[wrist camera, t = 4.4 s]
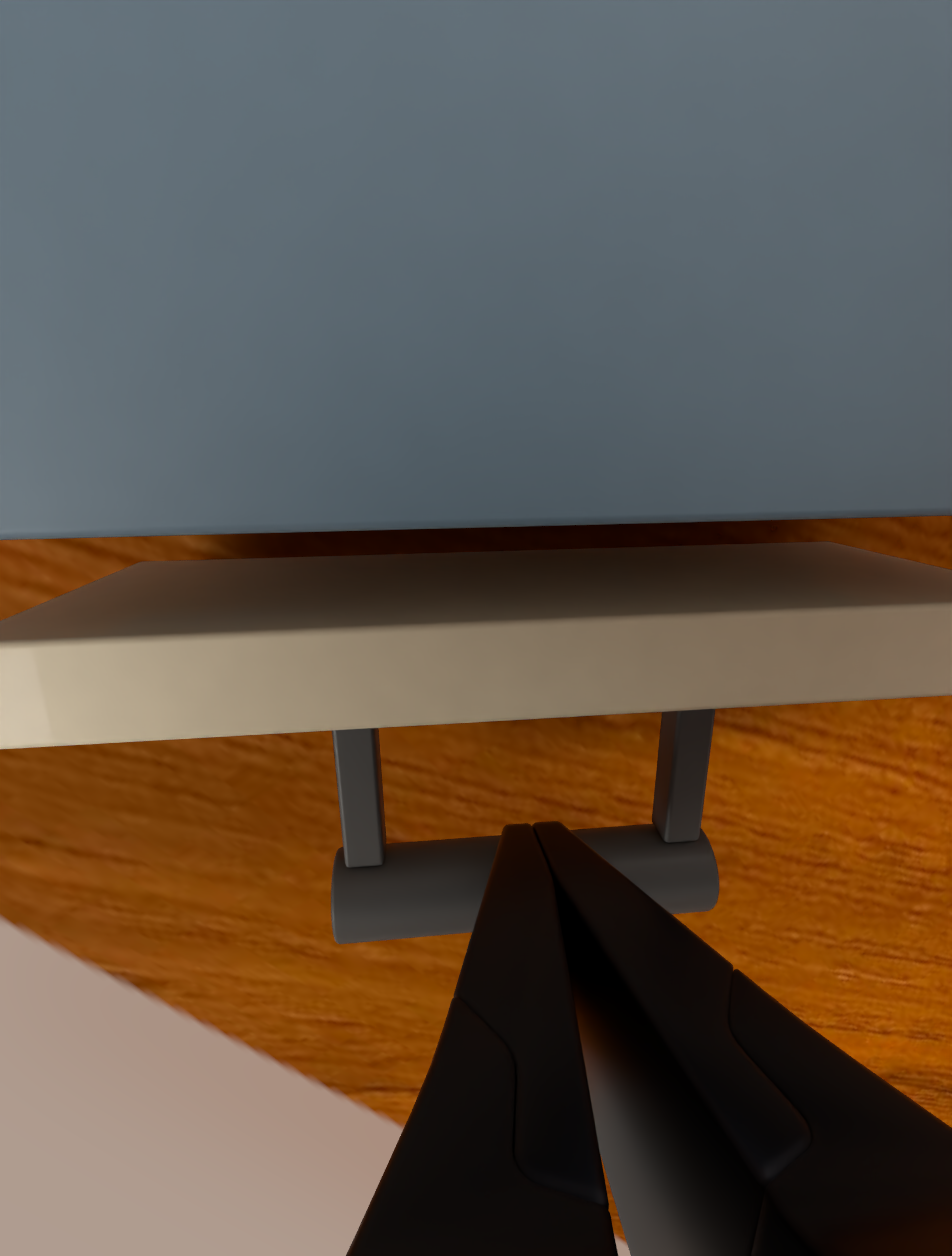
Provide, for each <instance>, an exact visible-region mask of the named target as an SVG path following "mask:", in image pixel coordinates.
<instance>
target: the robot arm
mask: <svg viewBox="0 0 952 1256" xmlns="http://www.w3.org/2000/svg"><path fill="white" fill-rule="evenodd" d="M600 1154H601V1156H600ZM601 1157H602V1160H603V1164H604V1167H605V1170H606V1174H607V1177H608V1180H609V1184H610V1187H611V1190H612V1194H613V1197H614V1200H615V1204H616V1207H617V1210H618V1214H619V1217H620V1220H621V1224H622V1227H623V1230H624V1234H625V1237H626V1240H627V1244H628V1247H629V1250H630V1254H631V1256H952V1128H951V1127H950V1126H948V1125H947V1124H945V1123H944V1122H943V1121H941V1120H940V1119H938V1118H937V1117H935V1116H934V1115H933V1114H931V1113H930V1112H928V1111H927V1110H926V1109H924V1108H923V1107H921V1106H920V1105H918V1104H917V1103H916V1102H914V1101H913V1100H911V1099H910V1098H909V1097H907V1096H906V1095H904V1094H903V1093H901V1092H900V1091H899V1090H897V1089H896V1088H894V1087H893V1086H892V1085H890V1084H889V1083H887V1082H886V1081H884V1080H883V1079H882V1078H880V1077H879V1076H877V1075H876V1074H875V1073H873V1072H872V1071H870V1070H869V1069H867V1068H866V1067H865V1066H863V1065H862V1064H860V1063H859V1062H858V1061H856V1060H855V1059H853V1058H852V1057H851V1056H849V1055H848V1054H847V1053H845V1052H844V1051H842V1050H841V1049H840V1048H838V1047H837V1046H836V1045H834V1044H833V1043H831V1042H830V1041H829V1040H827V1039H826V1038H825V1037H823V1036H822V1035H821V1034H819V1033H818V1032H816V1031H815V1030H814V1029H812V1028H811V1027H810V1026H808V1025H807V1024H806V1023H804V1022H803V1021H802V1020H800V1019H799V1018H798V1017H797V1016H795V1015H794V1014H793V1013H792V1012H790V1011H789V1010H788V1009H787V1008H785V1007H784V1006H783V1005H781V1004H780V1003H779V1002H778V1001H776V1000H775V999H774V998H773V997H771V996H770V995H769V994H768V993H766V992H765V991H764V990H763V989H761V988H760V987H759V986H758V985H757V984H755V983H754V982H753V981H752V980H750V979H749V978H748V977H747V976H746V975H744V974H743V973H742V972H741V971H740V970H738V969H735V970H734V971H733V965H732V964H731V963H730V962H728V961H727V960H726V959H725V958H724V957H722V956H721V955H720V954H719V953H718V952H716V951H715V950H714V949H713V948H711V947H710V946H709V945H708V944H707V943H705V942H704V941H703V940H702V939H701V938H699V937H698V936H697V935H696V934H695V933H693V932H692V931H691V930H690V929H689V928H687V927H686V926H685V925H684V924H683V923H681V922H680V921H679V920H678V919H676V918H675V917H674V916H673V915H672V914H670V913H669V912H668V911H667V910H666V909H664V908H663V907H662V906H661V905H660V904H658V903H657V902H656V901H655V900H654V899H652V898H651V897H650V896H649V895H647V894H646V893H645V892H644V891H643V890H641V889H640V888H639V887H638V886H637V885H635V884H634V883H633V882H632V881H631V880H629V879H628V878H627V877H626V876H625V875H623V874H622V873H621V872H620V871H618V870H617V869H616V868H615V867H614V866H612V865H611V864H610V863H609V862H608V861H606V860H605V859H604V858H603V857H602V856H600V855H599V854H598V853H597V852H596V851H594V850H593V849H592V848H591V847H590V846H588V845H587V844H586V843H585V842H583V841H582V840H581V839H580V838H579V837H577V836H576V835H575V834H574V833H573V832H571V831H570V830H569V829H568V828H567V827H565V826H564V825H563V824H562V823H560V822H558V821H550V822H537V823H534V824H533V826H531V825H530V824H528V823H523V824H509V825H506V826H505V827H504V828H503V831H502V835H501V838H500V841H499V845H498V848H497V851H496V855H495V858H494V861H493V865H492V868H491V871H490V875H489V878H488V882H487V885H486V888H485V892H484V895H483V898H482V902H481V905H480V908H479V912H478V915H477V918H476V922H475V925H474V929H473V932H472V935H471V939H470V942H469V945H468V949H467V952H466V955H465V959H464V962H463V965H462V969H461V972H460V976H459V979H458V982H457V986H456V989H455V992H454V998H453V999H452V1001H451V1004H450V1008H449V1011H448V1014H447V1018H446V1021H445V1024H444V1027H443V1030H442V1033H441V1036H440V1039H439V1042H438V1045H437V1048H436V1051H435V1054H434V1057H433V1060H432V1063H431V1066H430V1068H429V1071H428V1073H427V1075H426V1078H425V1080H424V1083H423V1085H422V1088H421V1090H420V1092H419V1095H418V1097H417V1100H416V1102H415V1105H414V1107H413V1109H412V1112H411V1114H410V1116H409V1118H408V1121H407V1123H406V1125H405V1127H404V1130H403V1132H402V1134H401V1136H400V1138H399V1141H398V1143H397V1145H396V1147H395V1149H394V1152H393V1154H392V1156H391V1158H390V1160H389V1163H388V1165H387V1167H386V1169H385V1172H384V1174H383V1176H382V1178H381V1180H380V1183H379V1185H378V1187H377V1189H376V1191H375V1194H374V1196H373V1198H372V1200H371V1202H370V1205H369V1207H368V1209H367V1211H366V1214H365V1216H364V1218H363V1220H362V1222H361V1225H360V1227H359V1229H358V1231H357V1234H356V1236H355V1238H354V1240H353V1242H352V1244H351V1246H350V1248H349V1250H348V1252H347V1255H346V1256H618V1253H617V1248H616V1243H615V1238H614V1233H613V1227H612V1221H611V1216H610V1212H609V1211H608V1209H609V1203H608V1197H607V1191H606V1185H605V1179H604V1173H603V1168H602V1162H601Z"/></svg>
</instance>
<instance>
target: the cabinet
mask: <svg viewBox="0 0 952 1256" xmlns="http://www.w3.org/2000/svg"><path fill="white" fill-rule="evenodd" d="M951 515H952V0H0V540H15V539H54V538H93V537H132V536H171V535H210V534H249V533H288V532H327V531H366V530H405V529H444V528H483V527H522V526H561V525H600V524H639V523H678V522H717V521H756V520H795V519H834V518H873V517H912V516H951Z"/></svg>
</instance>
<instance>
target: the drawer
mask: <svg viewBox="0 0 952 1256" xmlns="http://www.w3.org/2000/svg"><path fill="white" fill-rule="evenodd" d="M947 695H952V570H949V569H945V568H941V567H936V566H932V565H928V564H923V563H919V562H915V561H911V560H906V559H902V558H898V557H893V556H889V555H885V554H880V553H876V552H872V551H867V550H863V549H859V548H855V547H850V546H846V545H842V544H837V543H833V542H829V541H827V542H794V543H760V544H726V545H692V546H658V547H624V548H590V549H556V550H523V551H489V552H455V553H421V554H387V555H353V556H319V557H285V558H251V559H218V560H184V561H150V562H139V563H137V564H134V565H132V566H130V567H127V568H125V569H123V570H120V571H118V572H115V573H113V574H111V575H108V576H106V577H104V578H101V579H99V580H97V581H94V582H92V583H89V584H87V585H85V586H82V587H80V588H78V589H75V590H73V591H71V592H68V593H66V594H63V595H61V596H59V597H56V598H54V599H52V600H49V601H47V602H45V603H42V604H40V605H37V606H35V607H33V608H30V609H28V610H26V611H23V612H21V613H19V614H16V615H14V616H11V617H9V618H7V619H4V620H2V621H0V749H12V748H30V747H47V746H65V745H82V744H100V743H118V742H135V741H153V740H171V739H188V738H206V737H224V736H241V735H259V734H276V733H294V732H312V731H329V730H332V735H333V745H334V756H335V766H336V776H337V786H338V797H339V807H340V817H341V828H342V838H343V847H341V848H339V849H338V851H337V853H336V856H335V860H334V866H333V874H332V888H331V917H332V928H333V934H334V938H335V941H336V942H337V943H339V944H346V943H357V942H368V941H380V940H391V939H402V938H413V937H424V936H435V935H446V934H457V933H468V932H473V929H474V925H475V922H476V918H477V915H478V912H479V908H480V905H481V902H482V898H483V895H484V892H485V888H486V885H487V882H488V878H489V875H490V871H491V868H492V865H493V861H494V858H495V855H496V851H497V848H498V845H499V841H500V838H501V835H498V836H485V837H471V838H458V839H445V840H431V841H418V842H405V843H391V844H386V830H385V815H384V801H383V787H382V773H381V758H380V744H379V730H378V728H382V727H400V726H417V725H435V724H453V723H470V722H488V721H506V720H523V719H541V718H559V717H576V716H594V715H611V714H629V713H647V712H662V719H661V729H660V740H659V750H658V761H657V771H656V782H655V792H654V803H653V814H652V822H653V824H644V825H631V826H618V827H604V828H591V829H578V830H570V831H571V832H573V833H574V834H575V835H576V836H577V837H579V838H580V839H581V840H582V841H583V842H585V843H586V844H587V845H588V846H590V847H591V848H592V849H593V850H594V851H596V852H597V853H598V854H599V855H600V856H602V857H603V858H604V859H605V860H606V861H608V862H609V863H610V864H611V865H612V866H614V867H615V868H616V869H617V870H618V871H620V872H621V873H622V874H623V875H625V876H626V877H627V878H628V879H629V880H631V881H632V882H633V883H634V884H635V885H637V886H638V887H639V888H640V889H641V890H643V891H644V892H645V893H646V894H647V895H649V896H650V897H651V898H652V899H654V900H655V901H656V902H657V903H658V904H660V905H661V906H662V907H663V908H664V909H666V910H667V911H668V912H669V913H670V914H679V913H690V912H701V911H709V910H710V909H712V908H713V907H714V906H715V905H716V903H717V899H718V895H719V876H718V869H717V864H716V860H715V856H714V853H713V850H712V847H711V845H710V842H709V840H708V838H707V837H706V835H705V833H704V832H703V830H702V829H701V820H702V812H703V804H704V796H705V788H706V780H707V772H708V764H709V756H710V748H711V740H712V732H713V724H714V716H715V709H717V708H735V707H753V706H770V705H788V704H805V703H823V702H841V701H858V700H876V699H894V698H911V697H929V696H947Z"/></svg>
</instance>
